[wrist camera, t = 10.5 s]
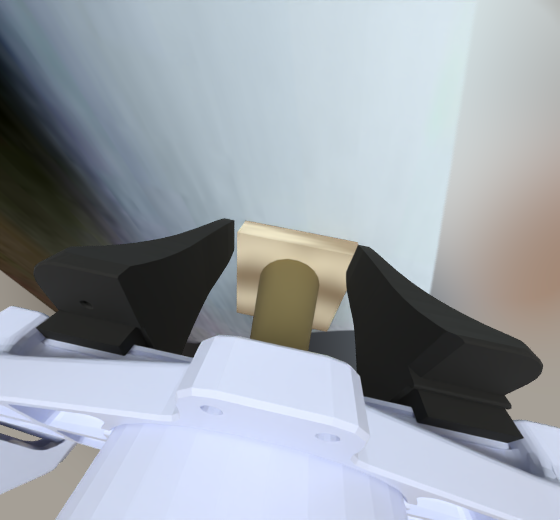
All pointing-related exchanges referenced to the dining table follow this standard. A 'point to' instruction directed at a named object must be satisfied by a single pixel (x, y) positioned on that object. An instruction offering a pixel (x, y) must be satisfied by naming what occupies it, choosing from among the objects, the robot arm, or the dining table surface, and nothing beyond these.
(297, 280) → the cork
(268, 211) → the dining table surface
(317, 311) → the birch riser block
